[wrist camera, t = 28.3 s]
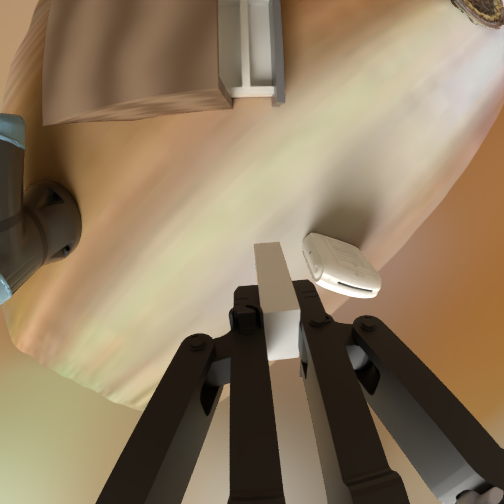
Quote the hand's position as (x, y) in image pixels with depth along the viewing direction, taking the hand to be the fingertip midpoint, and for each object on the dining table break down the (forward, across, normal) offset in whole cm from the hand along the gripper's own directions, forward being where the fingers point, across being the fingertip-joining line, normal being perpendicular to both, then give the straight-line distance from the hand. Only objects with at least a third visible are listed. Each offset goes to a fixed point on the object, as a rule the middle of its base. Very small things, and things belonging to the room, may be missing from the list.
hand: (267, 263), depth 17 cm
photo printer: (+26, +12, -12) cm, 31 cm away
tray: (+26, -5, +21) cm, 34 cm away
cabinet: (+27, -8, +21) cm, 35 cm away
